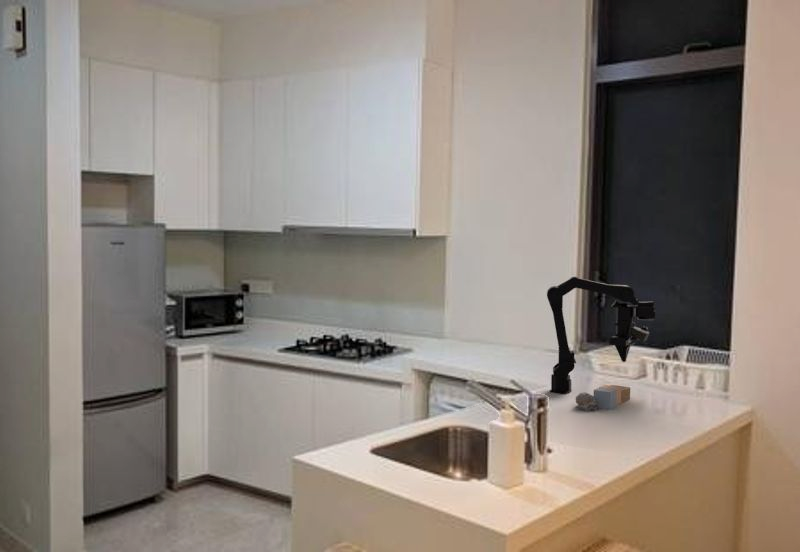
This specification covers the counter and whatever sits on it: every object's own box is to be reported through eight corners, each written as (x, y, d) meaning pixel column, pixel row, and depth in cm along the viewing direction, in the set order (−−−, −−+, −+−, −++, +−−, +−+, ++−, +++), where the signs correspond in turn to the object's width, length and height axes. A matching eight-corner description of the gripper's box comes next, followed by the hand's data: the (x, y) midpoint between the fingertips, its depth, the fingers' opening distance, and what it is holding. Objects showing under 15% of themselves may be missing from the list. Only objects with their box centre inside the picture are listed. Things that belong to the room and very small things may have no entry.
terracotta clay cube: (598, 404, 250) (598, 387, 250) (604, 401, 254) (604, 384, 254) (615, 406, 246) (615, 389, 246) (621, 404, 250) (621, 387, 250)
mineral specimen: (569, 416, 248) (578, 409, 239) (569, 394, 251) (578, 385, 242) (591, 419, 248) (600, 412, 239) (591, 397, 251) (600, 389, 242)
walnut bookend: (601, 401, 255) (601, 388, 255) (611, 397, 262) (611, 384, 262) (620, 404, 251) (620, 391, 250) (630, 399, 258) (630, 387, 257)
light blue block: (593, 407, 246) (593, 389, 246) (599, 404, 250) (600, 387, 250) (610, 409, 242) (610, 392, 242) (616, 407, 246) (616, 389, 246)
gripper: (640, 323, 251) (639, 368, 252) (653, 318, 267) (653, 360, 268) (608, 321, 258) (607, 364, 259) (623, 316, 273) (623, 357, 274)
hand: (624, 361), depth 265 cm, fingers closed
